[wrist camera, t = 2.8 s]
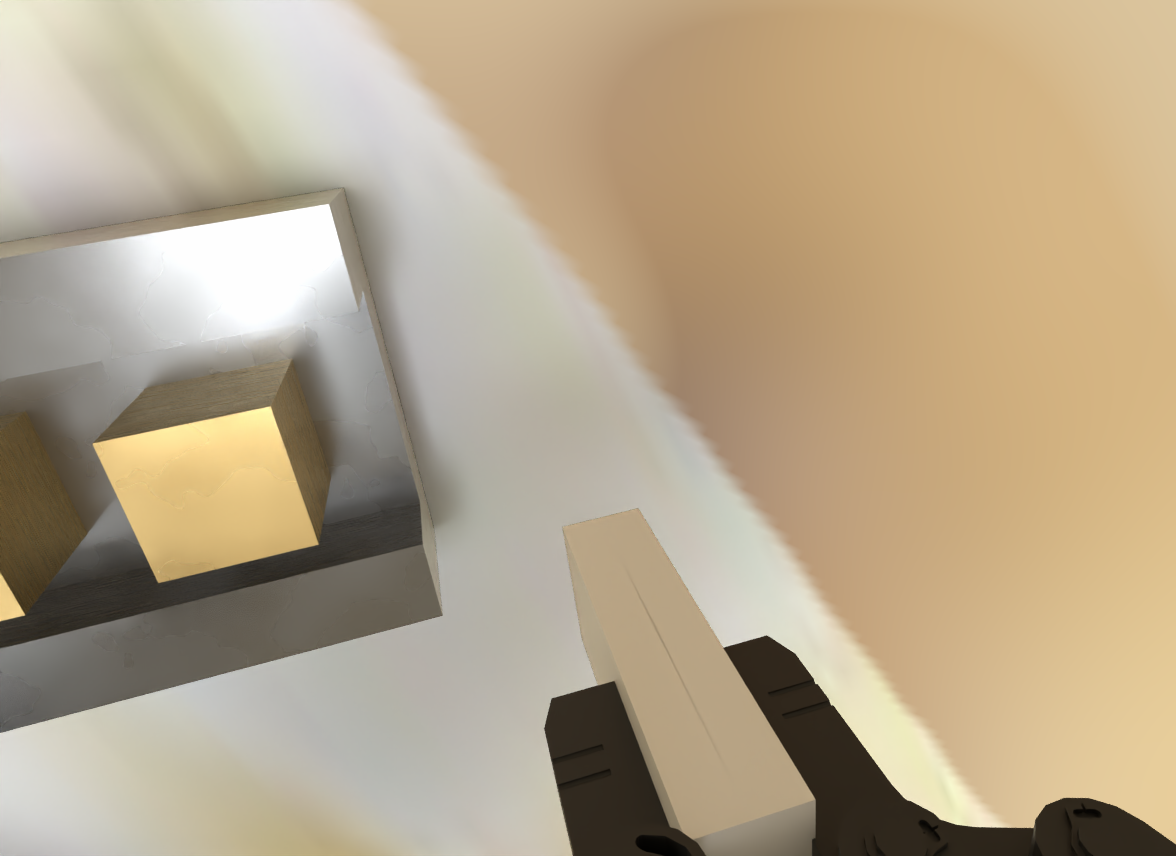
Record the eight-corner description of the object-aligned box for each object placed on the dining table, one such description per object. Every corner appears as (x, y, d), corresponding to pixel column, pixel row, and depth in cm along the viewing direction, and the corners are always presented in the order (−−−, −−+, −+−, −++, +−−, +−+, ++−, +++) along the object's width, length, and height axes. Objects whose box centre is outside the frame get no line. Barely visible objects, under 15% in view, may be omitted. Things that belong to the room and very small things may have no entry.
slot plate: (-92, 658, 27) (-212, 788, 22) (-340, 297, 21) (-589, 354, 16) (434, 529, 30) (442, 615, 25) (343, 187, 25) (328, 204, 19)
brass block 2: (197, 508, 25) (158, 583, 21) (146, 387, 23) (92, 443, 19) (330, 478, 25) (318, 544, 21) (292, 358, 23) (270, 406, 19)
